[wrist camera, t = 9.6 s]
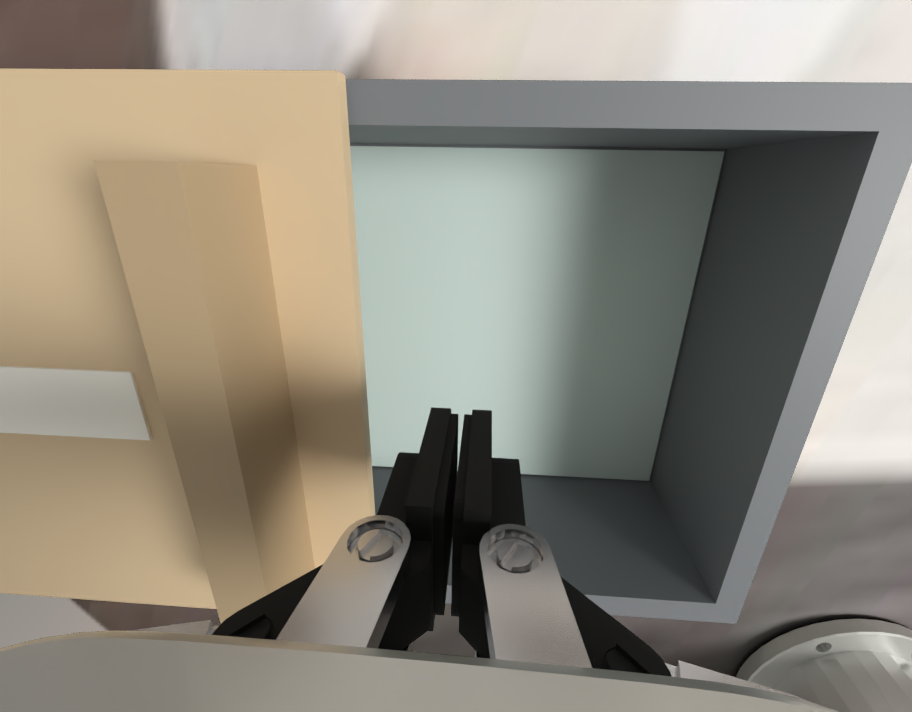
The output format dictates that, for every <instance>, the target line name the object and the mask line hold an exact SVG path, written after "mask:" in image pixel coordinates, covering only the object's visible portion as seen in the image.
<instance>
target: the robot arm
mask: <svg viewBox="0 0 912 712" xmlns="http://www.w3.org/2000/svg"><path fill="white" fill-rule="evenodd" d="M457 463H458V414H451V408H434V407H431V410H430V414H429V418H428V421H427V425H426V429H425V432H424V436H423V440H422V443H421V447H420V451H419V453H406V452H400V453H398V455H397V458H396V461H395V464H394V467H393V470H392V472H391V475H390V478H389V481H388V484H387V487H386V490H385V493H384V495H383V498H382V501H381V504H380V507H379V510H378V513H377V515H374V516H368V517H365V518H363V519H360V520H358V521H356V522H355V523H353V524H352V525H350V526H349V527H348V528H347V529H346V530H345V532H344V533H343V534H342V536H341V537H340V539H339V540H338V542H337V544H336V545H335V547H334V548H333V550H332V551H331V553H330V555H329V556H328V558H327V559H326V561H325V563H324V564H322V565H321V566H319V567H317V568H315V569H313V570H311V571H310V572H308V573H306V574H304V575H302V576H301V577H299V578H297V579H295V580H293V581H291V582H290V583H288V584H286V585H284V586H282V587H281V588H279V589H277V590H275V591H273V592H272V593H270V594H268V595H266V596H264V597H262V598H261V599H259V600H257V601H255V602H253V603H252V604H250V605H248V606H246V607H244V608H242V609H241V610H239V611H237V612H236V613H234V614H233V615H231V616H230V617H228V618H227V619H225V620H224V621H223V622H222V623H221V624H220V625H217V626H213V624H212V620H206V621H198V622H191V623H183V624H176V625H168V626H161V627H153V628H146V629H138V630H131V631H97V632H79V633H73V634H66V635H59V636H52V637H46V638H40V639H36V640H32V641H28V642H24V643H20V644H16V645H12V646H8V647H4V648H1V649H0V712H912V630H911V629H909V628H906V627H904V626H901V625H898V624H894V623H889V622H885V621H880V620H871V619H838V620H831V621H825V622H819V623H814V624H811V625H807V626H804V627H801V628H797V629H794V630H792V631H790V632H787V633H785V634H783V635H780V636H778V637H776V638H774V639H773V640H771V641H769V642H768V643H766V644H764V645H763V646H761V647H760V648H759V649H758V650H757V651H755V652H754V653H753V654H752V655H751V656H749V658H748V659H747V660H746V661H745V663H744V664H743V665H742V666H741V667H740V669H739V671H738V673H737V675H736V677H732V676H729V675H726V674H723V673H719V672H716V671H713V670H709V669H706V668H703V667H699V666H696V665H693V664H689V663H686V662H683V661H680V660H678V664H677V667H676V666H673V665H670V664H667V663H664V662H663V660H662V659H661V657H660V656H659V655H658V654H657V653H656V652H655V651H654V650H653V649H652V648H651V647H649V646H648V645H647V644H646V643H644V642H643V641H642V640H641V639H639V638H638V637H637V636H636V635H634V634H633V633H632V632H631V631H629V630H628V629H627V628H625V627H624V626H623V625H622V624H620V623H619V622H618V621H617V620H615V619H614V618H613V617H612V616H610V615H609V614H608V613H606V612H605V611H604V610H603V609H601V608H600V607H599V606H598V605H596V604H595V603H594V602H593V601H591V600H590V599H589V598H587V597H586V596H585V595H584V594H582V593H581V592H580V591H579V590H577V589H576V588H575V587H574V586H572V585H571V584H570V583H568V582H567V581H566V580H565V579H563V578H562V577H561V576H560V574H559V571H558V568H557V566H556V563H555V560H554V557H553V554H552V551H551V548H550V547H549V545H548V543H547V541H546V540H545V539H544V538H543V537H542V536H541V535H540V534H539V533H538V532H536V531H534V530H532V529H531V528H529V527H526V524H525V513H524V503H523V493H522V483H521V473H520V463H519V459H507V458H492V410H473V409H472V415H469V414H464V422H463V430H462V438H461V447H460V455H459V464H458V472H457ZM452 538H453V540H452ZM451 547H452V596H451V616H459V632H460V634H461V635H462V636H463V637H464V638H465V639H466V640H467V641H468V643H469V644H470V645H471V646H472V647H473V648H474V649H475V652H474V657H466V656H455V655H444V654H433V653H422V652H413V647H414V641H415V640H416V639H417V638H418V637H420V636H421V635H422V634H424V633H425V632H426V631H433V626H434V619H435V615H444V610H445V601H446V592H447V583H448V574H449V565H450V556H451Z"/></svg>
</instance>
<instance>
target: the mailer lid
mask: <svg viewBox="0 0 912 712" xmlns="http://www.w3.org/2000/svg"><path fill="white" fill-rule="evenodd" d="M374 515H375V503H374V488H373V473H372V459H371V444H370V430H369V415H368V400H367V386H366V371H365V357H364V342H363V328H362V313H361V298H360V284H359V269H358V255H357V240H356V225H355V211H354V196H353V182H352V167H351V152H350V138H349V123H348V109H347V94H346V80H345V76H344V75H343V74H341V73H340V72H339V71H326V70H144V69H0V593H5V594H6V593H7V594H20V595H32V596H46V597H60V598H73V599H87V600H100V601H114V602H128V603H141V604H155V605H168V606H182V607H195V608H209V609H217V612H218V615H219V619H220V623H222V622H223V621H224V620H225V619H227V618H228V617H230V616H231V615H233V614H234V613H236V612H237V611H239V610H241V609H242V608H244V607H246V606H248V605H250V604H252V603H253V602H255V601H257V600H259V599H261V598H262V597H264V596H266V595H268V594H270V593H272V592H273V591H275V590H277V589H279V588H281V587H282V586H284V585H286V584H288V583H290V582H291V581H293V580H295V579H297V578H299V577H301V576H302V575H304V574H306V573H308V572H310V571H311V570H313V569H315V568H317V567H319V566H321V565H322V564H324V563H325V561H326V559H327V558H328V556H329V555H330V553H331V551H332V550H333V548H334V547H335V545H336V544H337V542H338V540H339V539H340V537H341V536H342V534H343V533H344V532H345V530H346V529H347V528H348V527H349V526H350V525H352V524H353V523H355V522H356V521H358V520H360V519H363V518H365V517H368V516H374Z"/></svg>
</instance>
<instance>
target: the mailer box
mask: <svg viewBox="0 0 912 712" xmlns="http://www.w3.org/2000/svg"><path fill="white" fill-rule="evenodd" d="M345 80H346V94H347V109H348V123H349V138H350V152H351V167H352V182H353V196H354V211H355V225H356V240H357V255H358V269H359V284H360V298H361V313H362V328H363V342H364V357H365V371H366V386H367V400H368V415H369V430H370V444H371V459H372V473H373V488H374V503H375V515H377V513H378V510H379V507H380V504H381V501H382V498H383V495H384V493H385V490H386V487H387V484H388V481H389V478H390V475H391V472H392V470H393V467H394V464H395V461H396V458H397V455H398V453H400V452H406V453H419V451H420V447H421V443H422V440H423V436H424V432H425V429H426V425H427V421H428V418H429V414H430V410H431V407H434V408H451V414H458V463H457V472H458V464H459V455H460V447H461V438H462V430H463V422H464V414H469V415H472V409H473V410H492V458H507V459H519V463H520V473H521V483H522V493H523V503H524V513H525V524H526V527H529V528H531V529H532V530H534V531H536V532H538V533H539V534H540V535H541V536H542V537H543V538H544V539H545V540H546V541H547V543H548V545H549V547H550V548H551V551H552V554H553V557H554V560H555V563H556V566H557V568H558V571H559V574H560V576H561V577H562V578H563V579H565V580H566V581H567V582H568V583H570V584H571V585H572V586H574V587H575V588H576V589H577V590H579V591H580V592H581V593H582V594H584V595H585V596H586V597H587V598H589V599H590V600H591V601H593V602H594V603H595V604H596V605H598V606H599V607H600V608H601V609H603V610H604V611H605V612H606V613H608V614H609V615H619V616H633V617H647V618H662V619H676V620H690V621H704V622H718V623H732V624H736V623H737V620H738V617H739V615H740V612H741V609H742V607H743V604H744V602H745V599H746V596H747V594H748V591H749V588H750V586H751V583H752V581H753V578H754V575H755V573H756V570H757V567H758V565H759V562H760V560H761V557H762V554H763V552H764V549H765V546H766V544H767V541H768V538H769V536H770V533H771V531H772V528H773V525H774V523H775V520H776V517H777V515H778V512H779V510H780V507H781V504H782V502H783V499H784V496H785V494H786V491H787V489H788V486H789V483H790V481H791V478H792V475H793V473H794V470H795V468H796V465H797V462H798V460H799V457H800V454H801V452H802V449H803V447H804V444H805V441H806V439H807V436H808V433H809V431H810V428H811V426H812V423H813V420H814V418H815V415H816V412H817V410H818V407H819V405H820V402H821V399H822V397H823V394H824V391H825V389H826V386H827V384H828V381H829V378H830V376H831V373H832V370H833V368H834V365H835V363H836V360H837V357H838V355H839V352H840V349H841V347H842V344H843V342H844V339H845V336H846V334H847V331H848V328H849V326H850V323H851V321H852V318H853V315H854V313H855V310H856V307H857V305H858V302H859V300H860V297H861V294H862V292H863V289H864V286H865V284H866V281H867V278H868V276H869V273H870V271H871V268H872V265H873V263H874V260H875V257H876V255H877V252H878V250H879V247H880V244H881V242H882V239H883V236H884V234H885V231H886V229H887V226H888V223H889V221H890V218H891V215H892V213H893V210H894V208H895V205H896V202H897V200H898V197H899V194H900V192H901V189H902V187H903V184H904V181H905V179H906V176H907V173H908V171H909V168H910V166H911V163H912V83H852V82H700V81H548V80H396V79H345ZM452 540H453V538H452ZM451 596H452V547H451V556H450V565H449V574H448V583H447V592H446V601H445V603H450V604H451Z"/></svg>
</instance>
